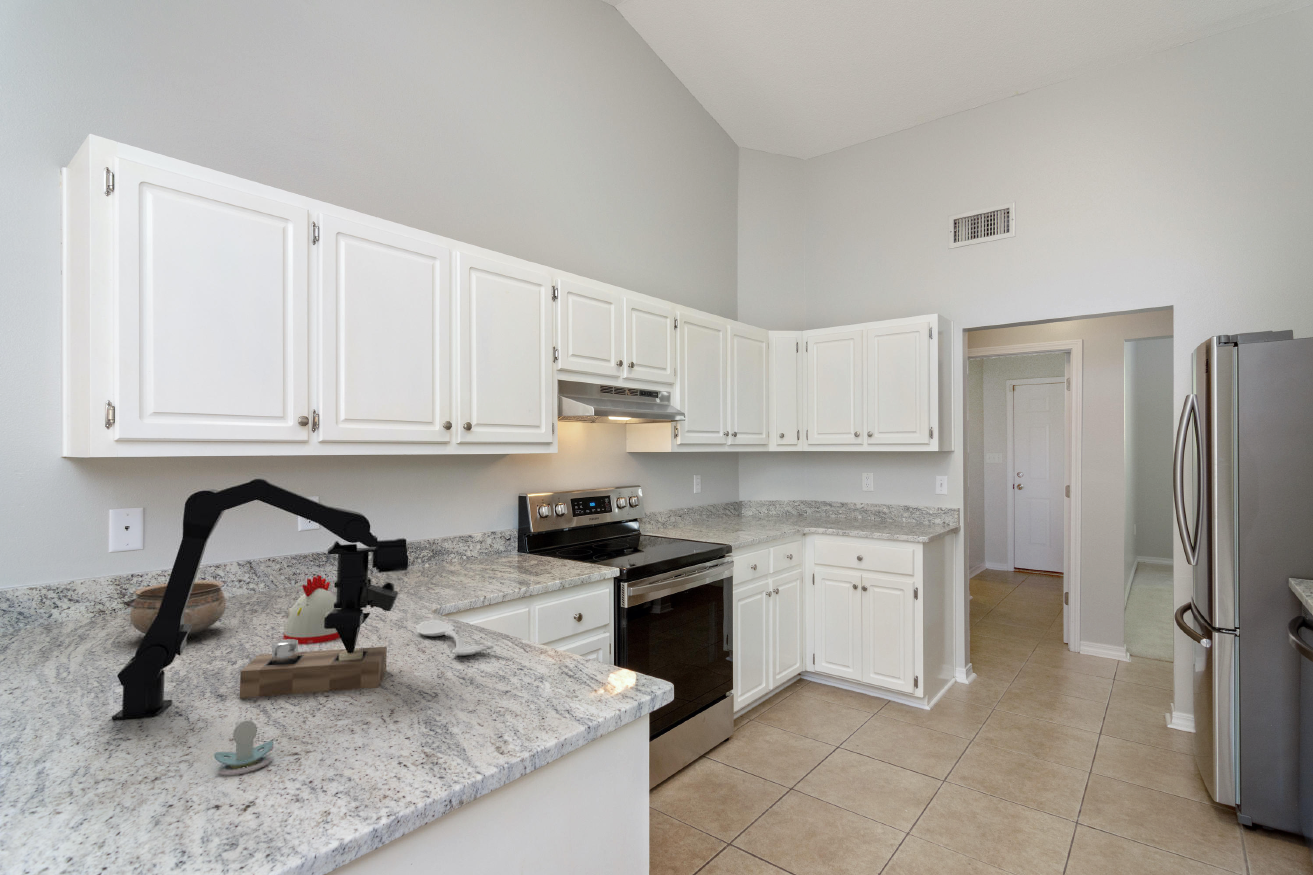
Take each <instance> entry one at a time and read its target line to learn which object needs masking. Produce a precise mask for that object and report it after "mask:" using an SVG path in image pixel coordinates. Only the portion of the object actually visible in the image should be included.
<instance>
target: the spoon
mask: <svg viewBox="0 0 1313 875" xmlns="http://www.w3.org/2000/svg"><path fill="white" fill-rule="evenodd" d="M415 630H416V631H417V632H418V633H419V634H421V635H423V636H426V637H441V636H446V637H451V638H452V639H454V641H455V644H456V645H455V647H454V649H453V650H452V651H451V653H453V654H454V655H455V656H461V657H462V656H472V655H474V654H479V653H481V652H485V651H487V650H493V649H494V645H493V644H492V643H490V644H485V645H470V644H467V643H465V641H464V640H463V638H462V637H461V636H460V635H459V634H458V631H457V630H456V627H455V626H454V625H453V624H452V623H449V622H446V621H443V620H436V619H430V620H425V621H422V622H420V623H419V624H417V625H416V627H415Z"/></svg>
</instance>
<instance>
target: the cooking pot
mask: <svg viewBox="0 0 1313 875" xmlns="http://www.w3.org/2000/svg"><path fill="white" fill-rule="evenodd" d="M167 584H168V582H166V583H165V582H164V583H158V584H153V585H148V586H145V587H141V588H137V589H136V590H135V591H134V594H135V595H137V597H136V598H135V600H134V602H133V603H132V607H131V610H130V612H129V619H130V622H131V625H132V626H133V627H134V629H135V630H137V631H138V632H140V633H142V634H146V633H147V631H148V629H149V628H150V626H151V624H152V623H153V621H154V619H155V618H156V616H157V614H158V611H159V608H160V605H161V602H162V599H163V596H164V593H165V590H166V587H167ZM223 586H224V583H223V582H222V581H220V580H219V581H218V580H208V579H207V580H205V579H204V580H195V582H194V585H193V588H192V591H191V594H190V597H189V600H188V603H187V606H186V609H185V613H184V624H193V625H192V627H191V629H190V631H189V633H188V635H187V638H186V640H188V639H192V638H194V637H196V636H197V635H198V634H200V633H201V632H203V631H205V630H206V629H209V628H210V627H212V626H213V625H214V624H216V623H217V622H218V621H219V620H220V619H221V618H222V616H223V615H224V613H225V610H226V606H227V602H226V601H227V600H226V597H225V594H224V592H223V591H222V588H221V587H223Z"/></svg>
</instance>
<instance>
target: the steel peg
mask: <svg viewBox="0 0 1313 875" xmlns="http://www.w3.org/2000/svg"><path fill="white" fill-rule="evenodd" d="M298 650H299V644H298V640H295V639H286V640H283V639H280V640H277V641H274V642H272V643H271V654H272V665H280V664H294V663H296V662H297V659H298V652H299V651H298Z"/></svg>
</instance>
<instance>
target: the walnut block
mask: <svg viewBox="0 0 1313 875" xmlns="http://www.w3.org/2000/svg"><path fill="white" fill-rule="evenodd" d="M355 649H361V650H363V658H362V659H354V660H339V653H340V652H341V651H344V650H346V648H343V649H330V650H329V649H326V650H311V651H310V650H309V651H298V659H297V662H296V663H294V664H280V665H272V653H266V654H265V653H264V654H263V653H262V654H258V655H257V656H256V657H255V658H253V659H252V660H251V661H250V662H249V663H248V664H247V665H246V666H245V667H243V668H242V669H241V670H240V674H239V676H240V678H239V699H246V698H257V697H259V698H260V697H272V696H273V697H274V696H283V695H284V696H286V695H294V694H296V695H298V694H310V693H311V694H312V693H320V692H321V693H322V692H323V693H324V692H334V691H336V692H337V691H345V690H346V691H348V690H349V691H350V690H360V689H361V690H362V689H372V688H379V687H380V684H381V683H382V680H383V678H384V675H385V674H386V671H387V656H388V655H387V652H388V651H387V650H388V646H375V647H373V646H372V647H362V648H361V647H360V648H356V647H355Z"/></svg>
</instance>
